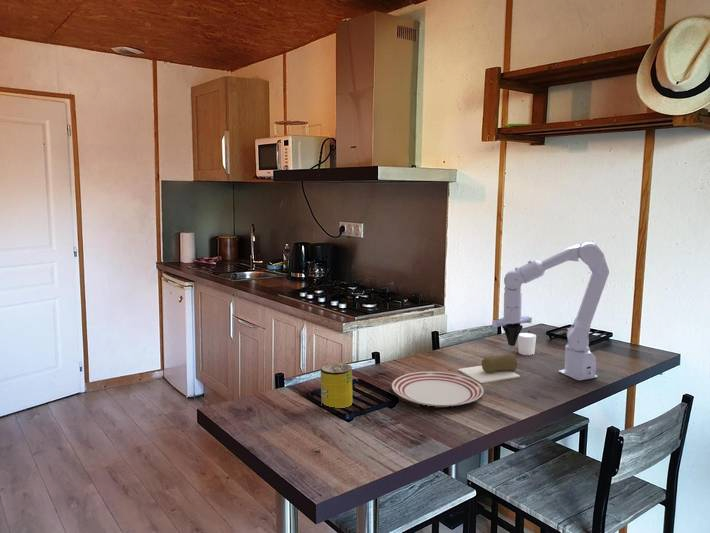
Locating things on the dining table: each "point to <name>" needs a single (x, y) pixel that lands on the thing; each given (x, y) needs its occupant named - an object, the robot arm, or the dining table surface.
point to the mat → (487, 374)
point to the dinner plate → (437, 388)
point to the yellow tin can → (336, 385)
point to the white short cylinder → (526, 343)
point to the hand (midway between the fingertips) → (511, 345)
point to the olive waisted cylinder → (500, 363)
